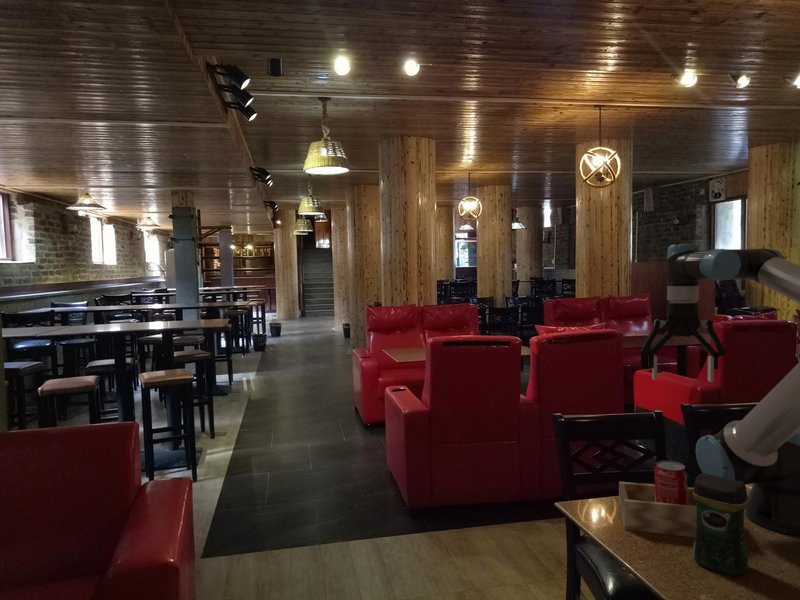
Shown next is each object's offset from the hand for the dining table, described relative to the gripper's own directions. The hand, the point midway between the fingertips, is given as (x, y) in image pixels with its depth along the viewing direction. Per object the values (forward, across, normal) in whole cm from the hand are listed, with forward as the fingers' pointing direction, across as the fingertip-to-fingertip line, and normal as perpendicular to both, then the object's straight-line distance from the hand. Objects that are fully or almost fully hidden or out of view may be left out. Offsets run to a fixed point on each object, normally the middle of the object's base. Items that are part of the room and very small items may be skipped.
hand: (682, 380), depth 143 cm
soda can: (+30, +6, +18) cm, 36 cm away
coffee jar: (+32, 0, +35) cm, 47 cm away
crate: (+32, +6, +18) cm, 37 cm away
